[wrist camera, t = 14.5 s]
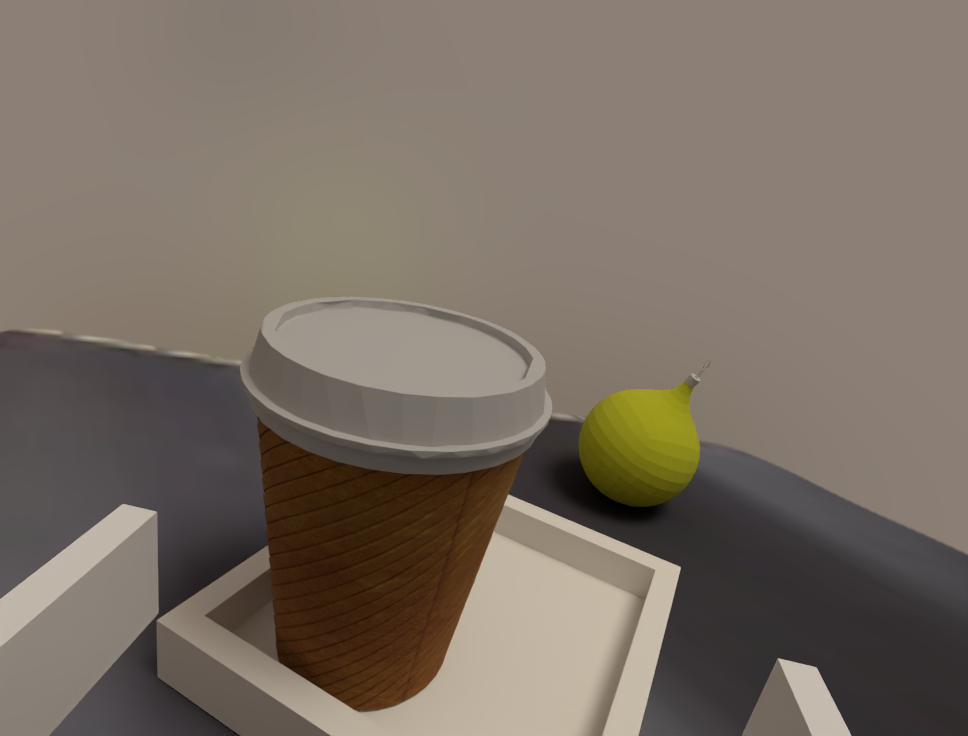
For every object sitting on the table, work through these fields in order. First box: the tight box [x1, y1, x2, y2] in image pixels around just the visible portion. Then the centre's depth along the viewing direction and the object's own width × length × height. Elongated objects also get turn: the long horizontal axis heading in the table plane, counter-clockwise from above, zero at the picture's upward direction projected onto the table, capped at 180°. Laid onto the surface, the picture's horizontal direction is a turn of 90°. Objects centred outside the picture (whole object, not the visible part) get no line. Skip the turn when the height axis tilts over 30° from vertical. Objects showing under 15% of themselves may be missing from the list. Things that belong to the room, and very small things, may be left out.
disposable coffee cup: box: [240, 297, 552, 710], centre depth 20 cm, size 10×10×12 cm
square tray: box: [156, 495, 681, 736], centre depth 23 cm, size 15×15×2 cm
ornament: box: [579, 371, 702, 507], centre depth 35 cm, size 7×7×10 cm
